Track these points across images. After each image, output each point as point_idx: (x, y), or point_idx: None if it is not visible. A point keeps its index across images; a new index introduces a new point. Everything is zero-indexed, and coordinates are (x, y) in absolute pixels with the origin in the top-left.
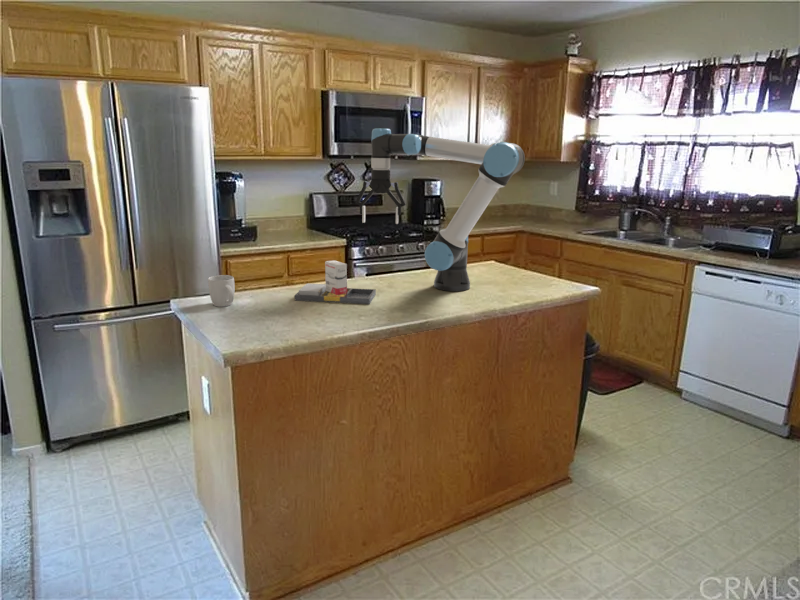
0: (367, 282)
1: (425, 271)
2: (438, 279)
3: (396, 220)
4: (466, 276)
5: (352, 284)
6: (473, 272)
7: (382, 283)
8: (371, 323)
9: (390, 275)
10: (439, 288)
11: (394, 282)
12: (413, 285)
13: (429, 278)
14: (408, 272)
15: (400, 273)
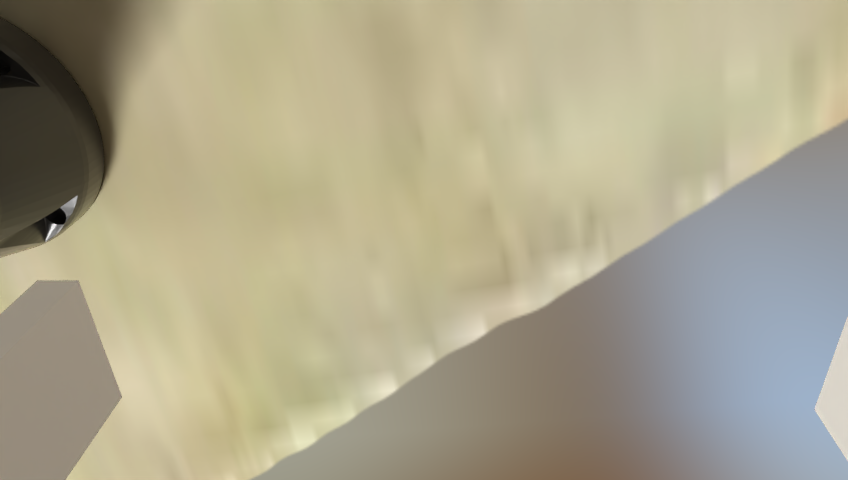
0: (575, 138)
1: (265, 447)
2: (6, 84)
3: (10, 328)
4: None
5: (687, 54)
6: None
7: (462, 131)
8: None
9: (446, 339)
10: (21, 34)
11: (384, 175)
12: (237, 119)
13: (195, 310)
14: (353, 416)
15: (394, 390)
